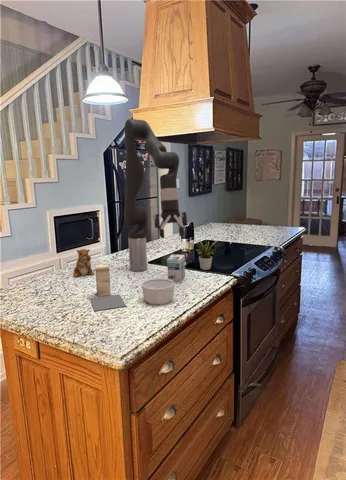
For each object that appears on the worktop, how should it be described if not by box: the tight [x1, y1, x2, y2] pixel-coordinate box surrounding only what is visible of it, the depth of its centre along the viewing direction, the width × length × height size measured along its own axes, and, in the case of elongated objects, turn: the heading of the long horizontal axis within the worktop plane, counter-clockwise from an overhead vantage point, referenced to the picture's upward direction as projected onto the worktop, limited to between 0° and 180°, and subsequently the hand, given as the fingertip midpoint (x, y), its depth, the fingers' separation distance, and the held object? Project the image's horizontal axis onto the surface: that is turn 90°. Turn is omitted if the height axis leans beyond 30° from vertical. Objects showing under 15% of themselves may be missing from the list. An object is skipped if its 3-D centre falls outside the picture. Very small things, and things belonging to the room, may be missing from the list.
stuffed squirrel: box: [73, 248, 95, 278], centre depth 174 cm, size 10×14×13 cm
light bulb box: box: [166, 254, 186, 283], centre depth 163 cm, size 11×7×11 cm, turn 168°
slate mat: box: [89, 293, 127, 312], centre depth 134 cm, size 14×12×1 cm
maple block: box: [95, 264, 112, 297], centre depth 142 cm, size 5×5×12 cm
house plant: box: [192, 239, 218, 271], centre depth 179 cm, size 14×14×16 cm
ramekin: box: [141, 278, 176, 305], centre depth 136 cm, size 13×13×7 cm
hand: (171, 237), depth 147 cm, fingers open, 8 cm apart
